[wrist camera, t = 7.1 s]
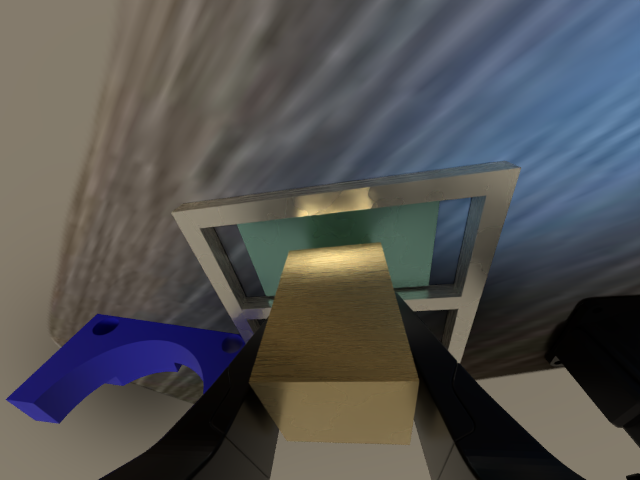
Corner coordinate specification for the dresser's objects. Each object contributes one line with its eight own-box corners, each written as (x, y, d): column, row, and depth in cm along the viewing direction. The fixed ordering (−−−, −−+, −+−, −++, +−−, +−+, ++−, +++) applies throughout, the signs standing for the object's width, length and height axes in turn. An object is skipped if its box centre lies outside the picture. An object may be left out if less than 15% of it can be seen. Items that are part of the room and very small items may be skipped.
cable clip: (119, 344, 20) (47, 429, 15) (99, 311, 18) (5, 399, 13) (254, 364, 20) (227, 452, 15) (253, 334, 18) (221, 428, 13)
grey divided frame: (505, 160, 10) (521, 167, 9) (451, 358, 18) (457, 371, 17) (182, 203, 12) (171, 212, 11) (266, 362, 20) (263, 374, 19)
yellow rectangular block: (380, 242, 10) (419, 381, 5) (382, 306, 12) (409, 444, 7) (288, 250, 10) (248, 382, 6) (306, 310, 12) (286, 441, 8)
